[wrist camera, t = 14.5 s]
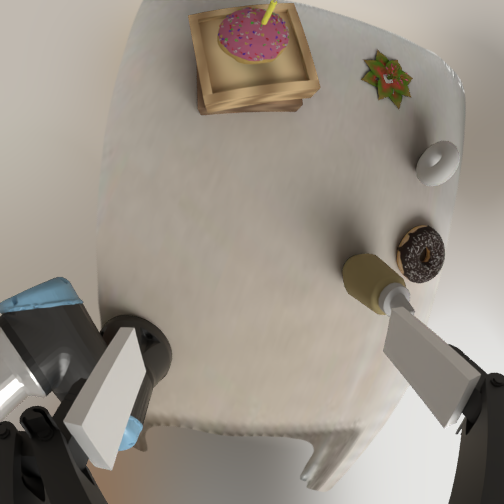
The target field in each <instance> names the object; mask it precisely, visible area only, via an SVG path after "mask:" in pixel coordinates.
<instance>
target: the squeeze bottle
mask: <svg viewBox="0 0 504 504" xmlns="http://www.w3.org/2000/svg"><path fill="white" fill-rule="evenodd" d="M342 273H343V281H344V287H345V288H346V290H347V292H348V294H350V295H351V296H353V297H354V298H355V299H357V300H358V301H360V302H361V303H362V304H364V305H365V306H367V307H368V308H370V309H371V310H372V311H374V312H375V313H377V314H380V315H388V316H389V317H390V315H391V309H392V308H398V307H404V308H405V309H406V310H408V311H409V312H410V313H411V314H412V315H414V313H415V311H414V309H413V307H412V306H411V304H410V303H409V301H410V293H409V290H408V289H407V288H406V285H405V282H404V280H403V278H402V277H401V276H399V275H398V274H397V273H396V272H395V271H394V270H393V269H391V268H390V267H389V266H388V265H387V264H386V263H385V262H383V261H382V260H381V259H380V258H379V257H377V256H376V255H373V254H368V253H367V254H359V255H354V256H352V257H351V258H349V259H348V260H347V261H346V263H345V264H344V267H343V270H342Z"/></svg>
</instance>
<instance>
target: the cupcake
mask: <svg viewBox="0 0 504 504" xmlns="http://www.w3.org/2000/svg"><path fill="white" fill-rule="evenodd" d="M276 4H277V0H272V1H271V2H270V4H269V6H268V9H267V10H265V9H258V8H257V7H256V8H251V7H248V8H247V9H245V8H243V9H238V11H235V12H233V13H231V14H229V15H227V16H226V18H225V19H224V20H223V21H222V22H221V24H220V26H219V27H220V28H219V31H218V36H217V42H218V45H219V47H220V48H221V50H222V51H223V52H224V53H226V54H227V55H228V56H230V57H232V58H233V59H235V60H236V61H237V62H239V63H243V64H261V63H268V62H272V61H274V60H275V59H276V58H277V57H278V56H279V55H280V54H281V53H282V52H283V51H284V49H285V48H286V46H287V44H288V41H289V32H288V30H289V29H288V27H287V26H286V24H285V23H286V22H284V20H283V19H282V18H280V16H279V14H278V15H277V14H275V13H274V12H273V10H274V8H275V6H276Z"/></svg>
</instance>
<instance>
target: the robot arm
mask: <svg viewBox="0 0 504 504" xmlns="http://www.w3.org/2000/svg"><path fill="white" fill-rule="evenodd" d="M0 313H1V314H2V315H1V316H0V504H108V503H107V501H106V500H105V498H104V496H103V495H102V493H101V491H100V489H99V488H98V486H97V484H96V482H95V480H94V478H93V477H92V474H91V472H90V470H89V469H88V467H87V466H86V464H87V461H88V459H89V460H90V461H91V462H92V463H93V465H94V466H95V467H99V468H103V469H108V470H112V468H113V465H114V462H115V458H116V455H117V452H118V451H122V450H126V449H129V448H131V447H132V446H133V445H134V444H135V443H136V441H137V439H138V436H139V433H140V432H141V431H142V428H143V423H144V419H145V415H146V412H147V408H148V405H149V401H150V397H151V394H152V390H153V388H154V387H155V386H156V385H157V384H158V382H159V381H160V380H162V379H163V378H164V377H165V376H166V374H167V373H168V371H169V368H170V365H171V361H172V350H171V347H170V344H169V342H168V340H167V338H166V337H165V335H164V334H163V333H162V332H161V331H160V330H159V329H158V328H157V327H156V326H154V325H153V324H152V323H150V322H148V321H146V320H144V319H142V318H139V317H135V316H129V315H123V316H117V317H114V318H112V319H111V320H109V321H108V322H107V323H106V324H105V325H104V327H103V328H102V329H101V331H100V333H99V331H98V329H97V328H96V326H95V324H94V323H93V321H92V319H91V317H90V316H89V314H88V312H87V310H86V309H85V307H84V305H83V301H82V300H81V299H80V298H79V297H78V295H77V294H76V292H75V290H74V289H73V287H72V285H71V283H70V282H69V281H68V280H67V279H65V278H63V277H56V278H53V279H51V280H49V281H47V282H44V283H42V284H39V285H37V286H34V287H32V288H30V289H28V290H25V291H23V292H21V293H19V294H17V295H15V296H13V297H11V298H8V299H6V300H5V301H2V302H1V303H0ZM383 352H384V353H385V354H386V355H387V357H388V358H389V359H390V360H391V362H392V363H393V364H394V365H395V366H396V368H397V369H398V370H399V371H400V373H401V374H402V375H403V376H404V378H405V379H406V380H407V381H408V383H409V384H410V385H411V386H412V388H413V389H414V390H415V391H416V393H417V394H418V395H419V396H420V398H421V399H422V400H423V401H424V403H425V404H426V405H427V407H428V408H429V409H430V411H431V412H432V413H433V414H434V416H435V417H436V418H437V420H438V421H439V422H440V424H441V425H442V426H443V427H444V428H446V427H448V426H450V425H452V424H454V423H456V422H457V420H458V419H459V417H460V415H461V413H463V414H464V415H465V418H464V420H463V421H462V423H461V425H460V427H459V428H458V430H457V432H456V434H458V433H459V431H460V430H461V429H462V433H461V443H460V450H459V457H458V463H457V469H456V474H455V479H454V484H453V488H452V492H451V496H450V500H449V504H504V376H503V375H502V374H499V373H490V374H487V373H486V372H485V371H483V370H482V369H481V368H480V367H479V366H478V365H477V364H476V363H475V362H473V361H472V360H470V358H469V357H468V356H466V355H465V354H464V353H463V352H462V351H461V350H460V349H458V348H457V347H454V346H452V345H450V344H449V345H448V344H447V343H446V342H445V341H443V340H442V339H441V338H440V337H439V336H437V335H436V334H435V333H434V332H433V331H432V330H430V329H429V328H428V327H427V326H426V325H425V324H423V323H422V322H421V321H420V320H419V319H417V318H416V317H415V316H414V315H412V314H411V313H410V312H409V311H408V310H406V309H405V308H404V307H398V308H392V309H391V315H390V320H389V326H388V331H387V336H386V340H385V345H384V349H383ZM51 391H53V393H54V394H55V395H56V396H57V398H58V399H59V400H60V401H61V404H60V406H59V407H58V409H57V411H56V412H55V414H54V416H53V417H51V415H50V414H49V412H48V410H47V409H46V408H44V407H41V406H33V407H30V408H28V409H26V410H25V411H24V412H23V413H22V415H21V416H20V424H21V425H22V427H23V428H24V429H25V431H18V430H17V429H16V427H15V426H14V425H13V424H12V423H11V422H7V421H3V420H4V419H5V418H6V417H7V416H8V415H9V414H10V413H11V412H12V411H13V410H14V409H15V408H16V407H17V406H18V405H19V404H21V402H23V401H24V400H25V399H26V398H27V397H28V396H37V397H42V398H44V397H46V396H47V395H48V394H49V393H50V392H51ZM1 421H3V422H1Z"/></svg>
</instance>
